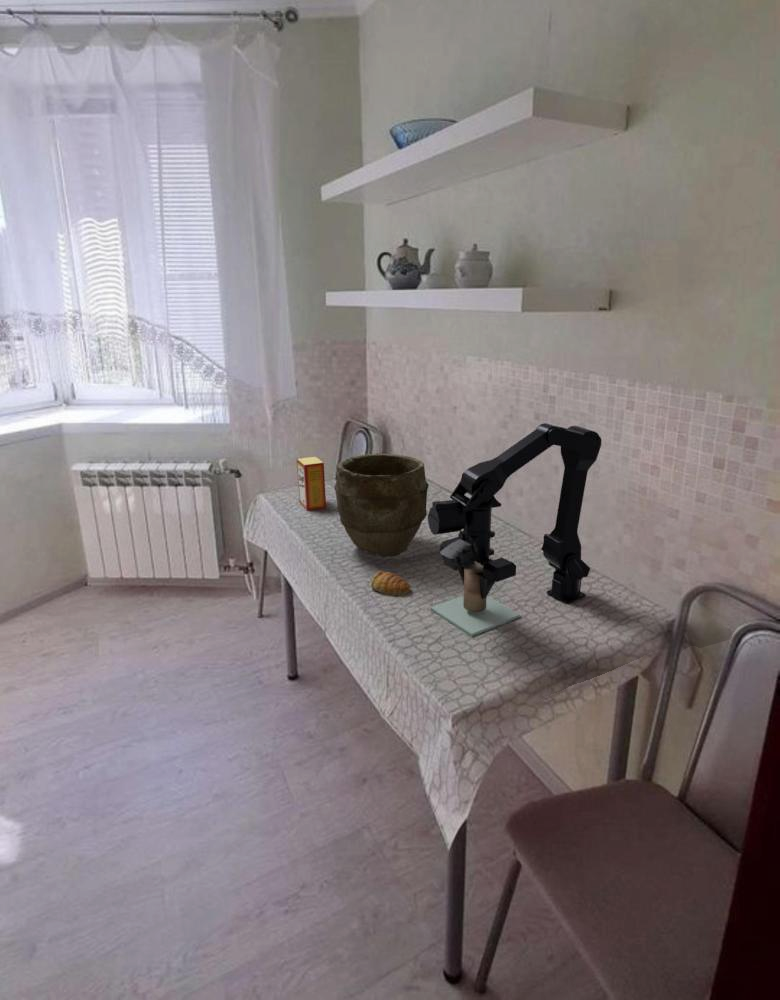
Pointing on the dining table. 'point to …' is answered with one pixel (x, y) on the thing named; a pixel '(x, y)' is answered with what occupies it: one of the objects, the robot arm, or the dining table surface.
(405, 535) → the clay pot
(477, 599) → the brown rounded cylinder
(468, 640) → the dining table surface
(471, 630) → the card
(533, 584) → the dining table surface
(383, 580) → the pastry
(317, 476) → the baking soda box
